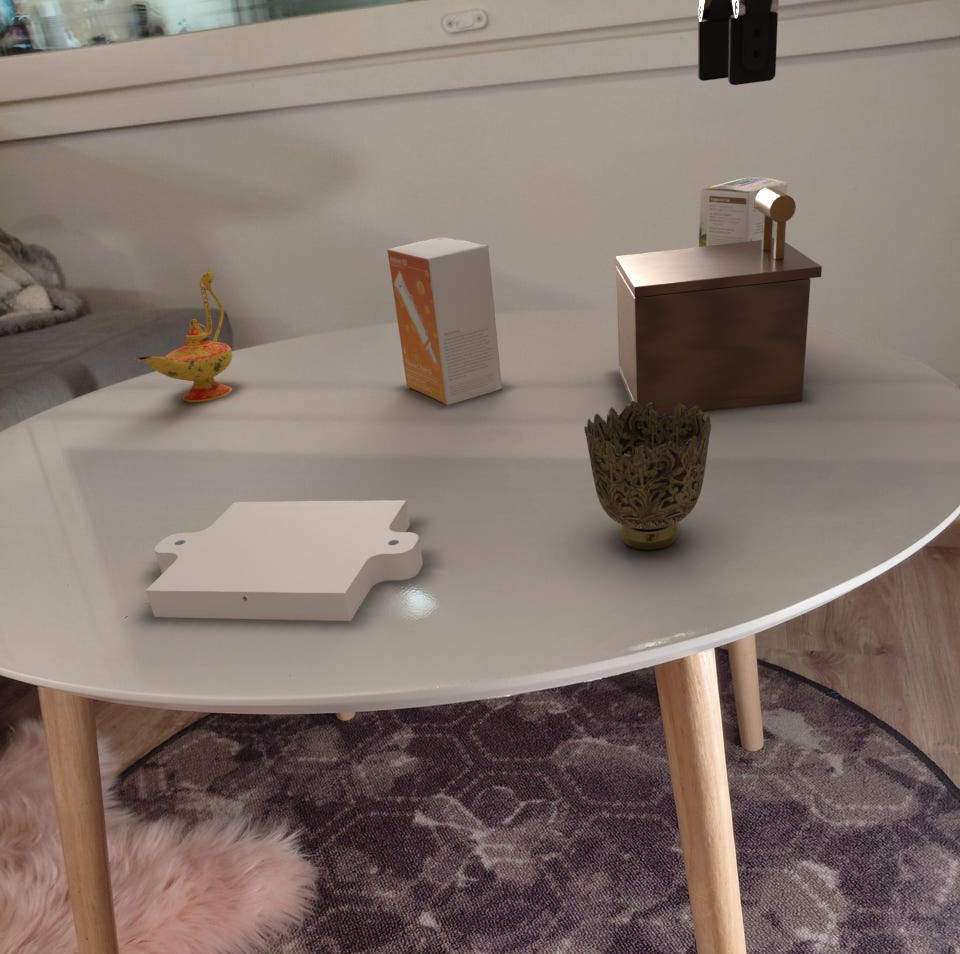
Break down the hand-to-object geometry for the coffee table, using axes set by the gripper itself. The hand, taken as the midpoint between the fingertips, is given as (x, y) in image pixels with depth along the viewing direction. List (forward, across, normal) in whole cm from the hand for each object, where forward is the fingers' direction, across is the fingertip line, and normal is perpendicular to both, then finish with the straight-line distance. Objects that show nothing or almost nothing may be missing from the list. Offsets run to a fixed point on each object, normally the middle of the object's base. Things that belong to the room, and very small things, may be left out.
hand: (734, 80), depth 73 cm
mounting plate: (+24, -26, +35) cm, 50 cm away
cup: (+24, -28, +12) cm, 38 cm away
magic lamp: (+23, +15, +50) cm, 58 cm away
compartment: (+24, +1, +2) cm, 24 cm away
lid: (+14, +1, +1) cm, 14 cm away
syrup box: (+24, +14, -4) cm, 28 cm away
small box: (+24, +9, +24) cm, 35 cm away
